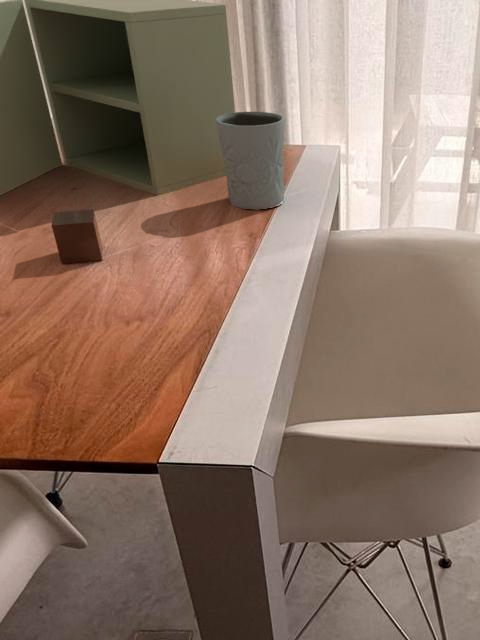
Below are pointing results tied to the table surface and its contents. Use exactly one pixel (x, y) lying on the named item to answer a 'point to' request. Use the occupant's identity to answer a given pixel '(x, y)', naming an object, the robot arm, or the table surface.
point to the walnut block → (77, 236)
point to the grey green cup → (253, 158)
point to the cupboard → (137, 87)
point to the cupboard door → (22, 105)
